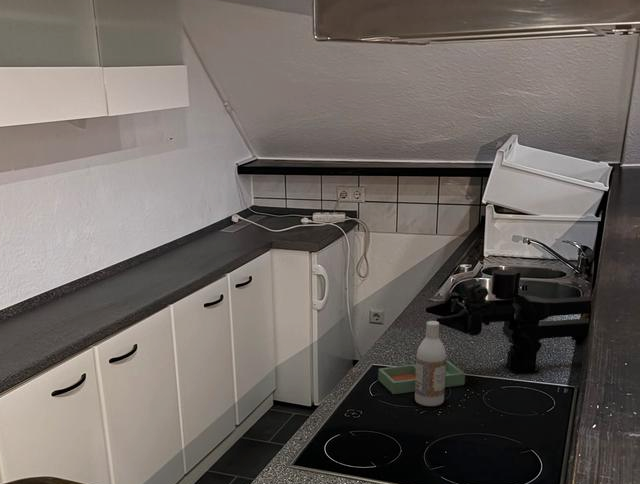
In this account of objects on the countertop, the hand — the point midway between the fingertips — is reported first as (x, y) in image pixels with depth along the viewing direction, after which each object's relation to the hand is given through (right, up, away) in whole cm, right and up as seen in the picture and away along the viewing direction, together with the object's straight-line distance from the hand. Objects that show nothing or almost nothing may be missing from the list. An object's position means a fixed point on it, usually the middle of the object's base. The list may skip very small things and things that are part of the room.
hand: (431, 315), depth 193 cm
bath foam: (-2, -22, -9) cm, 24 cm away
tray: (-2, -17, +2) cm, 17 cm away
